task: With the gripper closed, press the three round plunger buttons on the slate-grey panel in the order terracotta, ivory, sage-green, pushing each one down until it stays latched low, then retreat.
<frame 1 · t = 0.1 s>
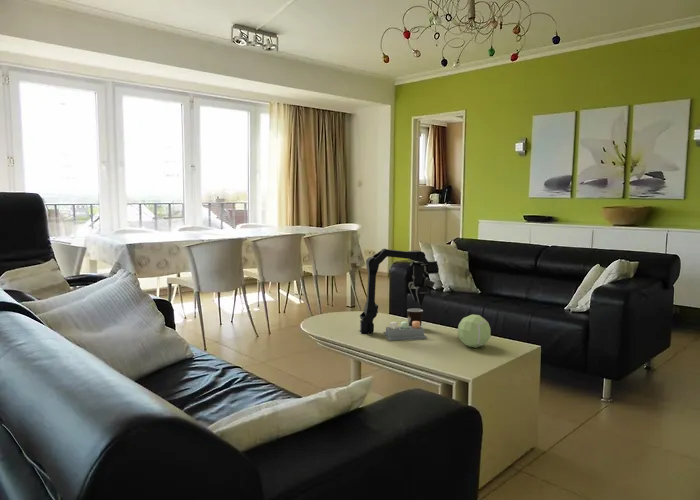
hand: (418, 303, 279), 15 cm above the table, tool pointing down, fingers open, 9 cm apart
decorative sphere: (473, 346, 249), on the table
terracotta button: (416, 325, 267), point 5 cm above the table, slide at 0.0 cm
ivory button: (393, 326, 265), point 5 cm above the table, slide at 0.0 cm
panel: (404, 336, 267), on the table
sage button: (404, 326, 266), point 5 cm above the table, slide at 0.0 cm
coffee mug: (414, 327, 285), on the table
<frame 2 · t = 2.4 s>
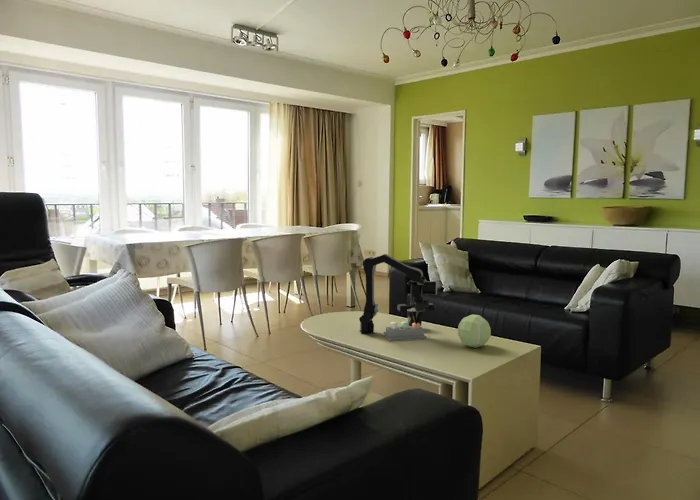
hand: (416, 323, 267), 6 cm above the table, tool pointing down, fingers closed, pressing on terracotta button
terracotta button: (416, 327, 267), point 4 cm above the table, slide at 1.0 cm, touching gripper
everything else where it was.
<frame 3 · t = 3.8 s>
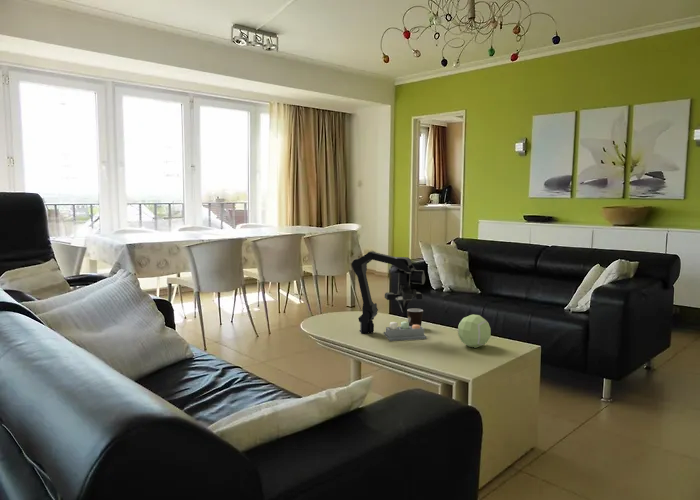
hand: (403, 312, 266), 13 cm above the table, tool pointing down, fingers closed
terracotta button: (416, 329, 267), point 4 cm above the table, slide at 1.9 cm
everything else where it was.
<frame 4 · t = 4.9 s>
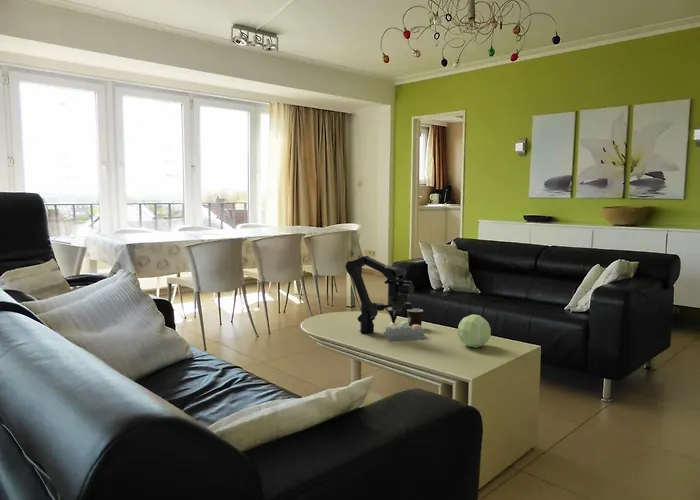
hand: (393, 323, 265), 7 cm above the table, tool pointing down, fingers closed, pressing on ivory button
ivory button: (393, 326, 265), point 5 cm above the table, slide at 0.1 cm, touching gripper
everything else where it was.
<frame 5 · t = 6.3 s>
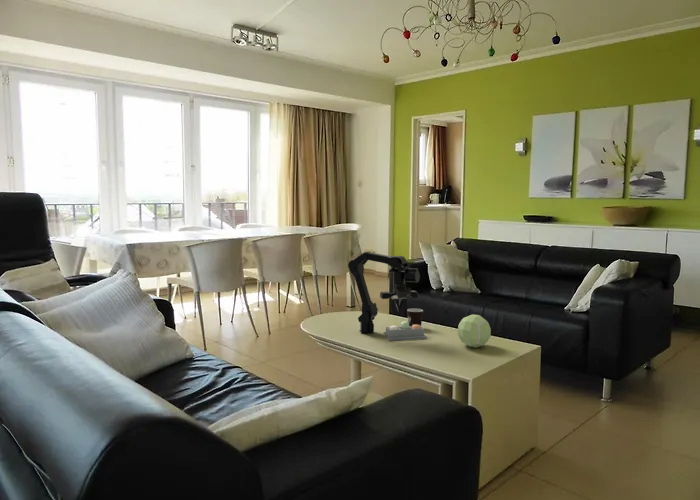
hand: (399, 311, 265), 13 cm above the table, tool pointing down, fingers closed
ivory button: (393, 330, 265), point 4 cm above the table, slide at 1.9 cm
everything else where it was.
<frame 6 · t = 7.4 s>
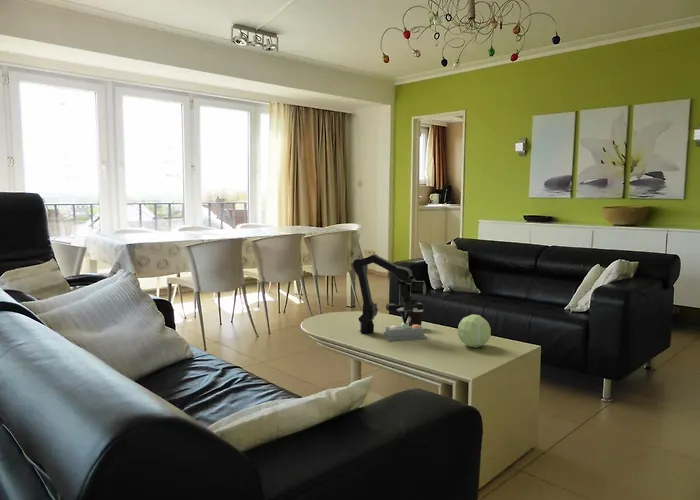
hand: (404, 323, 266), 7 cm above the table, tool pointing down, fingers closed, pressing on sage button
sage button: (404, 327, 266), point 5 cm above the table, slide at 0.5 cm, touching gripper
everything else where it was.
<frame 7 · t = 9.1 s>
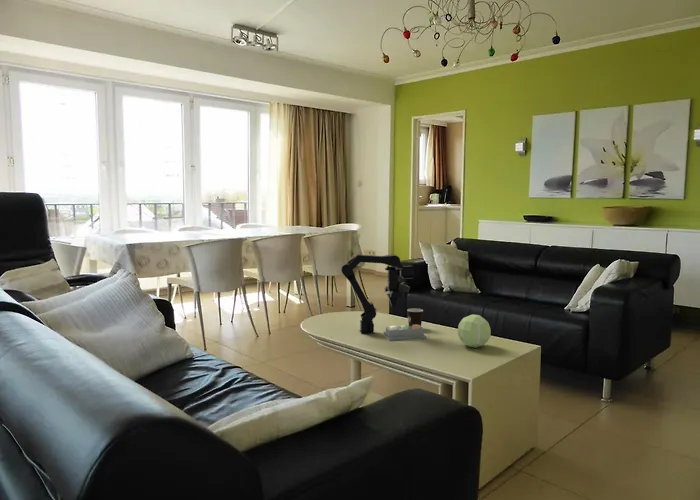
hand: (393, 307, 275), 13 cm above the table, tool pointing down, fingers closed
sage button: (404, 329, 266), point 4 cm above the table, slide at 1.9 cm
everything else where it was.
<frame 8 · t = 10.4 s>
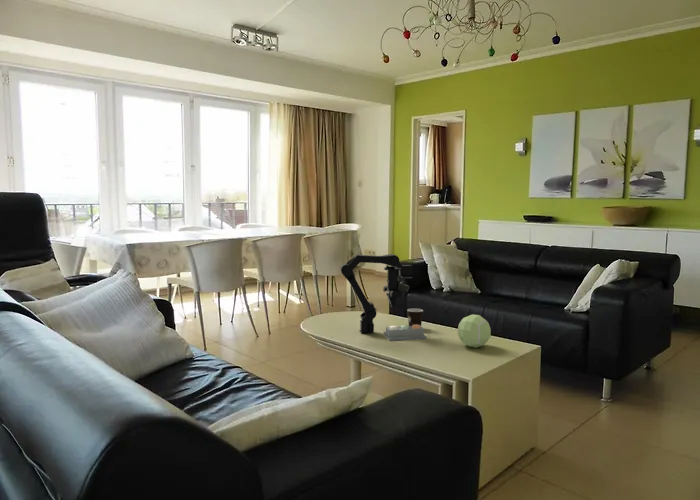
hand: (392, 307, 276), 13 cm above the table, tool pointing down, fingers closed
nothing on the table moved.
at the end: terracotta button slide at 1.9 cm; ivory button slide at 1.9 cm; sage button slide at 1.9 cm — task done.
